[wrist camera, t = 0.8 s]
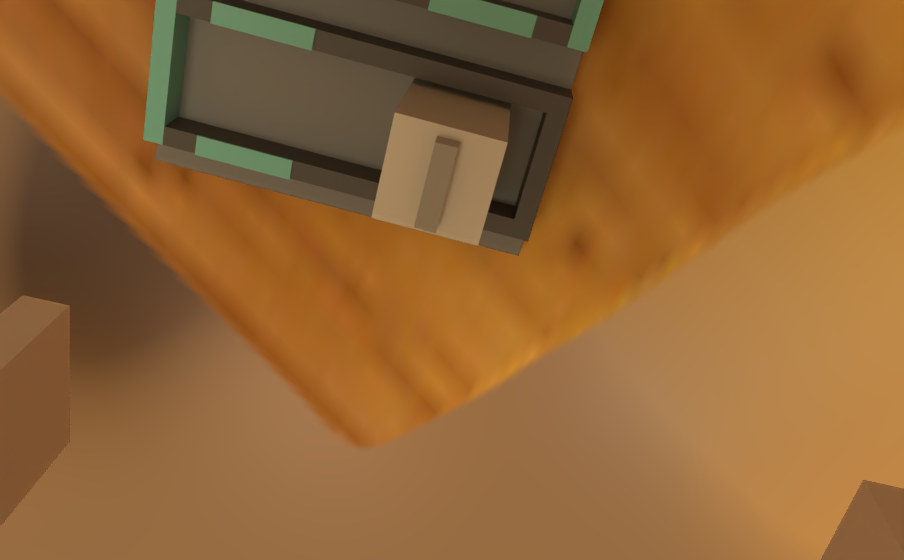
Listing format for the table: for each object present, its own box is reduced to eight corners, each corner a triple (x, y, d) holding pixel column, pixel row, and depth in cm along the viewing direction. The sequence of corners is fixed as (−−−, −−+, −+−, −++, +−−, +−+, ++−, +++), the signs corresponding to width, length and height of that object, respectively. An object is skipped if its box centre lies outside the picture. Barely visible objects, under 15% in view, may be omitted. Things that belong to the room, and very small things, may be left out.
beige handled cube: (415, 76, 34) (391, 118, 28) (510, 102, 34) (507, 149, 28) (394, 167, 36) (367, 225, 30) (485, 191, 36) (476, 254, 30)
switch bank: (211, -288, 30) (182, -304, 28) (647, -165, 31) (658, -170, 28) (166, 151, 38) (139, 172, 35) (519, 245, 38) (518, 271, 36)
